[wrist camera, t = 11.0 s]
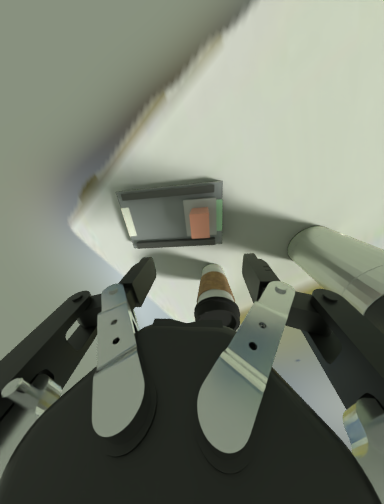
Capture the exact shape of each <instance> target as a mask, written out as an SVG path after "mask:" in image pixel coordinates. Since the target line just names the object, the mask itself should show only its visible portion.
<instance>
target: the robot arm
mask: <svg viewBox="0 0 384 504" xmlns="http://www.w3.org/2000/svg"><path fill="white" fill-rule="evenodd" d="M288 254H289V257H290V258H291V259H292V260H293V261H294V262H295V263H296V264H297V265H299V266H300V267H301V268H302V269H303V270H304V271H305V272H306V273H307V274H308V275H309V276H311V277H312V278H313V279H314V280H315V281H316V282H317V283H318V284H319V285H320V286H322V287H323V288H324V289H316V290H314V291H313V293H312V295H310V294H305V293H300V292H296V291H295V290H294V288H293V287H292V286H290V285H289V284H287V283H284V282H281V281H280V280H279V279H278V277H277V276H276V275H275V273H274V272H273V271H272V269H271V268H270V267H269V265H268V264H267V263H266V262H265V261H263V260H262V259H257V257H256V256H255V254H254V253H250V254H244V256H243V266H242V274H243V278H244V280H245V283H246V285H247V288H248V290H249V293H250V296H251V298H252V301H253V303H254V304H253V306H252V307H251V309H250V311H249V312H248V314H247V316H246V317H245V319H244V321H243V322H242V324H241V326H240V327H239V329H238V331H237V332H236V331H235V330H233V329H231V328H229V327H226V326H223V324H222V320H208V319H205V320H200V321H196V322H191V323H183V322H180V321H176V320H173V319H155V320H154V323H153V324H152V325H149V326H147V327H144V328H143V329H141V330H140V329H139V326H138V323H137V319H136V316H135V312H134V310H133V309H134V308H135V307H141V306H142V304H143V302H144V300H145V298H146V296H147V294H148V292H149V290H150V288H151V286H152V284H153V282H154V280H155V278H156V269H155V265H154V262H153V259H152V257H146V258H142V259H141V261H140V262H139V263H137V264H135V265H134V266H133V267H132V268H131V269H130V271H128V273H127V274H126V275H125V276H124V277H123V279H122V280H121V281H120V282H119V283H118V284H113V285H111V286H109V287H107V288H106V289H105V290H104V291H103V292H102V294H98V295H94V296H91V294H90V292H89V291H82V292H78V293H76V294H74V295H72V296H71V297H69V298H68V299H67V300H66V301H65V302H64V303H63V304H62V305H61V306H60V307H58V308H57V309H56V311H54V312H53V313H52V314H51V315H50V316H49V317H48V318H47V319H46V320H44V321H43V322H42V323H41V324H40V325H39V326H38V327H37V328H36V329H35V330H33V331H32V332H31V333H30V334H29V335H28V336H27V337H26V338H25V339H24V340H23V341H21V342H20V343H19V344H18V345H17V346H16V347H15V348H14V349H13V350H12V351H11V352H10V353H8V354H7V355H6V356H5V357H4V358H3V359H2V360H1V361H0V504H384V250H382V249H380V248H377V247H375V246H372V245H370V244H367V243H365V242H362V241H359V240H357V239H354V238H352V237H349V236H347V235H344V234H342V233H339V232H336V231H334V230H331V229H328V228H326V227H322V226H314V227H310V228H307V229H305V230H303V231H301V232H299V233H298V234H297V235H296V236H295V237H294V238H293V239H292V240H291V242H290V244H289V246H288ZM76 320H77V321H78V323H79V324H80V326H79V327H78V328H77V329H76V331H75V332H74V333H73V334H72V335H71V337H70V338H69V339H68V340H66V338H65V336H66V332H67V331H68V329H69V328H70V327H71V326H72V325H73V324H74V322H75V321H76ZM285 325H286V326H290V327H293V328H297V329H300V330H301V331H302V333H303V334H304V336H305V338H306V340H307V341H308V343H309V345H310V347H311V348H312V350H313V352H314V354H315V355H316V357H317V359H318V361H319V362H320V364H321V366H322V368H323V369H324V371H325V373H326V375H327V376H328V378H329V380H330V381H331V383H332V385H333V387H334V388H335V390H336V392H337V394H338V396H339V397H340V399H341V401H342V403H343V404H344V406H345V408H346V410H345V412H344V413H343V424H344V427H345V430H346V432H347V435H348V437H349V440H350V443H351V448H352V453H351V451H350V450H349V449H348V447H347V446H346V445H345V444H344V443H343V441H342V440H341V439H340V438H339V437H338V436H337V435H336V434H335V432H334V431H333V430H332V429H331V428H330V427H329V426H328V425H327V424H326V423H325V422H324V421H323V420H322V419H321V418H320V417H319V416H318V415H317V414H316V413H315V411H314V410H313V409H312V408H311V407H310V406H309V405H308V404H307V403H306V402H305V401H304V400H303V399H302V398H301V397H300V396H299V395H298V394H297V393H296V392H295V391H294V390H293V388H291V386H290V385H289V384H288V383H286V381H285V380H284V379H283V378H282V377H281V376H280V375H279V374H278V373H277V372H276V371H275V370H274V369H273V368H272V364H273V362H274V358H275V355H276V352H277V349H278V346H279V343H280V340H281V337H282V333H283V330H284V327H285ZM96 335H97V367H95V368H94V369H93V370H92V371H90V372H89V373H88V374H87V375H86V376H85V377H83V378H82V379H81V380H80V381H79V382H78V383H76V384H75V385H74V386H73V387H72V388H71V389H70V390H68V391H67V392H66V393H65V394H63V395H62V396H61V397H60V395H61V390H62V389H63V387H64V386H65V384H66V383H67V381H68V380H69V378H70V376H71V375H72V373H73V372H74V370H75V369H76V367H77V365H78V364H79V362H80V361H81V359H82V358H83V356H84V355H85V353H86V351H87V350H88V348H89V347H90V345H91V344H92V342H93V341H94V339H95V337H96Z"/></svg>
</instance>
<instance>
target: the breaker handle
mask: <svg viewBox="0 0 384 504" xmlns="http://www.w3.org/2000/svg"><path fill="white" fill-rule="evenodd" d="M183 205H184V213H185V222H186V230H187V236H191V237H192V239H197V238H210V235H217V226H216V197H212V198H200V199H189V200H183Z"/></svg>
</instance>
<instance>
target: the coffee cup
mask: <svg viewBox="0 0 384 504" xmlns="http://www.w3.org/2000/svg"><path fill="white" fill-rule="evenodd" d="M194 316H195V321H200V320H205V319H208V320H222V324H223V326H226V327H229V328H231V329H233V330H235V331H236V330H237V329H238V327H239V325H240V312H239V308H238V306H237V304H236V303H235V299H234V297H233V294H232V291H231V289H230V286H229V284H228V281H227V279H226V276H225V273H224V270H223V268H222V267H221V266H219V265H217V264H209V265H207V266H205V267H204V268H203V270H202V275H201V281H200V286H199V292H198V297H197V305H196V307H195V312H194Z"/></svg>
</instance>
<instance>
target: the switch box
mask: <svg viewBox="0 0 384 504" xmlns="http://www.w3.org/2000/svg"><path fill="white" fill-rule="evenodd" d="M222 187H223V181H214V182H204V183H195V184H185V185H175V186H166V187H156V188H146V189H137V190H127V191H119V192H116V194H117V197H118V200H119V203H120V206H121V211H122V214H123V217H124V220H125V223H126V226H127V229H128V232H129V235H130V237H131V240H132V243H133V246H134V248H138V249H140V248H160V247H179V246H199V245H215V244H222V200H223V199H222ZM212 197H216V226H217V235H210V238H197V239H192V237H191V236H187V230H186V222H185V213H184V205H183V200H189V199H200V198H212Z"/></svg>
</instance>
